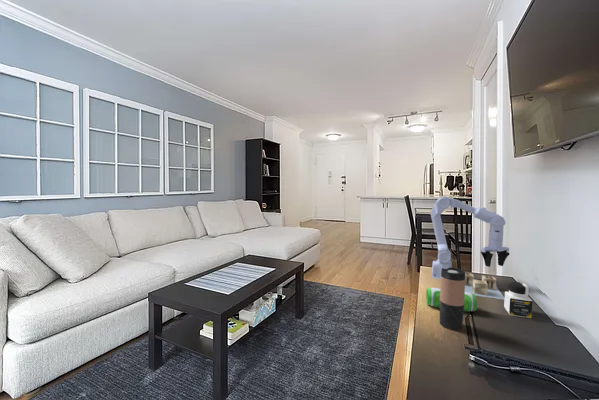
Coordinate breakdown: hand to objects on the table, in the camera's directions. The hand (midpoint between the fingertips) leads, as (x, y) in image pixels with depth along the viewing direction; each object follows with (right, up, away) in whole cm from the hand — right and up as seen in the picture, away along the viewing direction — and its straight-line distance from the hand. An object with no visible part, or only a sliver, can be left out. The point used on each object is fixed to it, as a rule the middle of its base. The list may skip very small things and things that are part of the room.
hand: (494, 265), depth 141 cm
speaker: (-36, -12, -26) cm, 46 cm away
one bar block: (-13, -9, 0) cm, 16 cm away
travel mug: (-43, -12, -40) cm, 60 cm away
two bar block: (-6, -10, -4) cm, 12 cm away
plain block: (-14, -10, -10) cm, 20 cm away
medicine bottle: (-11, -12, -30) cm, 34 cm away
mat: (-11, -10, -6) cm, 16 cm away
